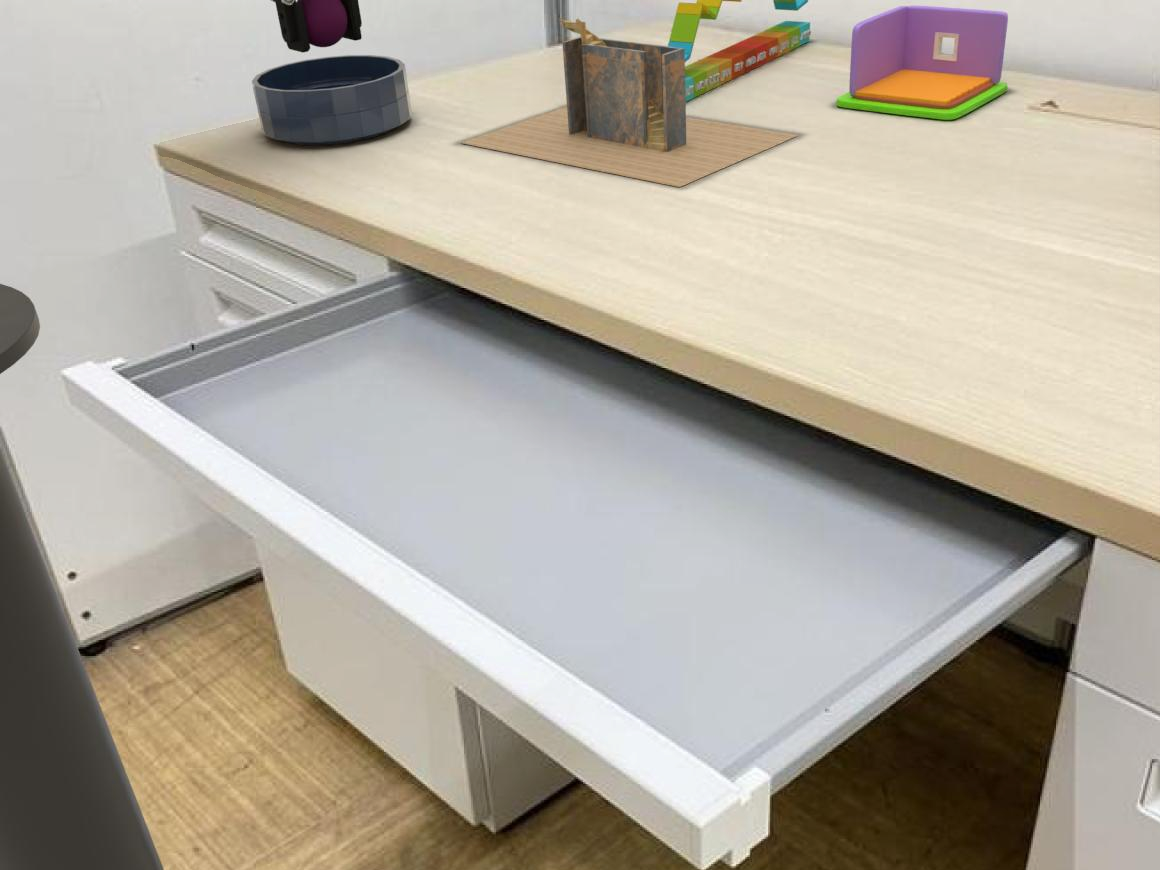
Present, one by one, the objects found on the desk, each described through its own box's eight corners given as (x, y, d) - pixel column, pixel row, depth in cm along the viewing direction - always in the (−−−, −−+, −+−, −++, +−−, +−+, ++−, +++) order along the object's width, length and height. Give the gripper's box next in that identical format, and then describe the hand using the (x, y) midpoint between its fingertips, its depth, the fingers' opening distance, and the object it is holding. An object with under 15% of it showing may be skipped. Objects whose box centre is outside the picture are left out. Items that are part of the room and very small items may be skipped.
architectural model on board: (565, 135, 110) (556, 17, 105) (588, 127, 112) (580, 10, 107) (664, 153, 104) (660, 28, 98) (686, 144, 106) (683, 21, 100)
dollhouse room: (893, 77, 120) (898, 0, 116) (1011, 89, 114) (1021, 8, 110) (830, 107, 113) (834, 25, 109) (953, 122, 106) (962, 36, 102)
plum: (303, 55, 111) (292, -3, 108) (295, 45, 115) (284, -12, 112) (356, 47, 112) (346, -11, 109) (346, 38, 116) (336, -19, 113)
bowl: (275, 158, 110) (263, 99, 107) (255, 122, 121) (243, 68, 118) (427, 133, 114) (419, 76, 111) (394, 101, 125) (386, 48, 122)
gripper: (346, -201, 109) (381, 22, 120) (167, -180, 101) (222, 57, 111) (392, -201, 104) (424, 31, 115) (208, -180, 96) (261, 69, 107)
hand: (324, 41), depth 113 cm, fingers closed on plum, 4 cm apart
